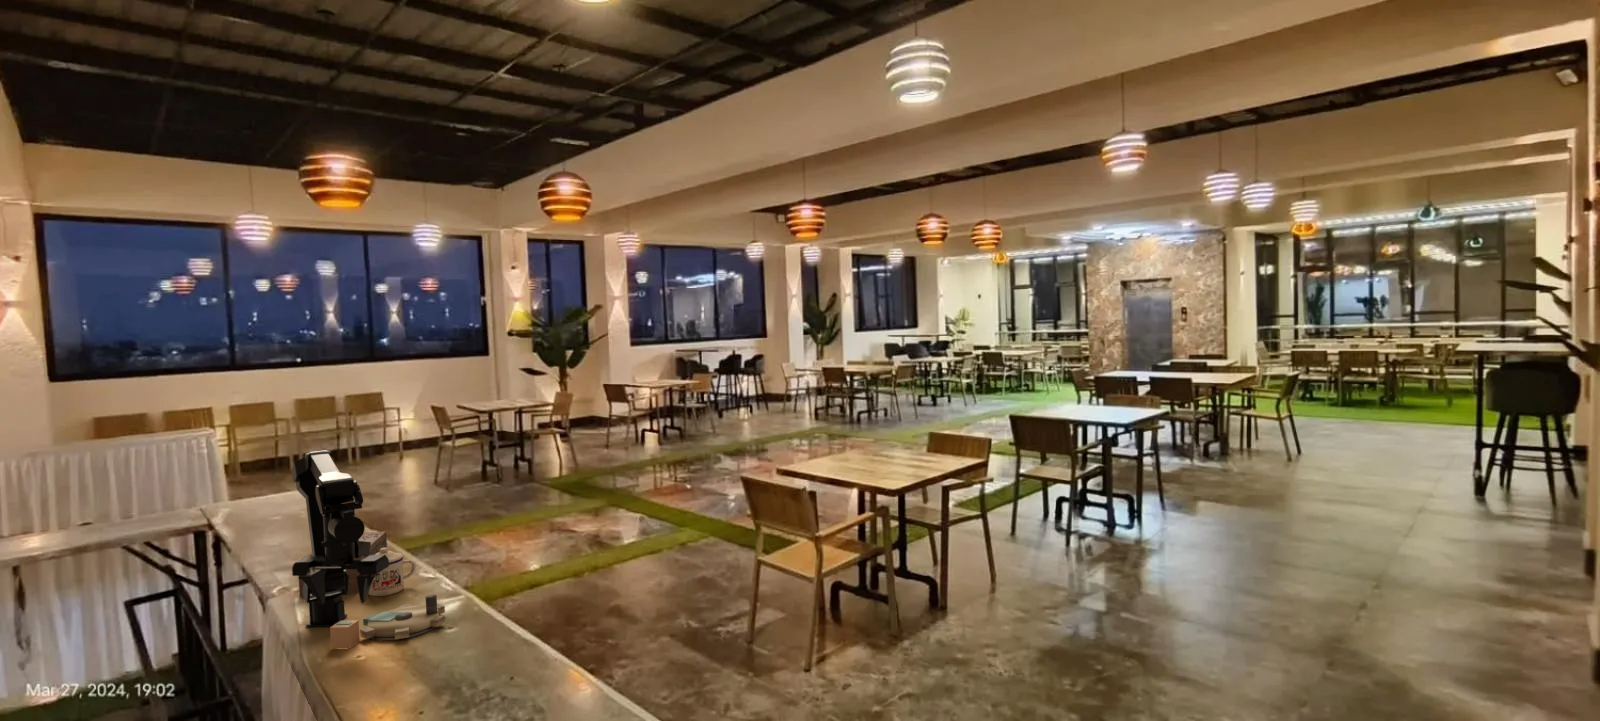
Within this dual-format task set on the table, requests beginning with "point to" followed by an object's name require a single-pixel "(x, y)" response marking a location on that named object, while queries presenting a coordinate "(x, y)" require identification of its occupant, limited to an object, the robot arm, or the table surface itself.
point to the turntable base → (404, 638)
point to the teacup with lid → (390, 575)
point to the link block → (344, 634)
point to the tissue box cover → (377, 543)
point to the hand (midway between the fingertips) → (343, 602)
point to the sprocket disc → (404, 620)
